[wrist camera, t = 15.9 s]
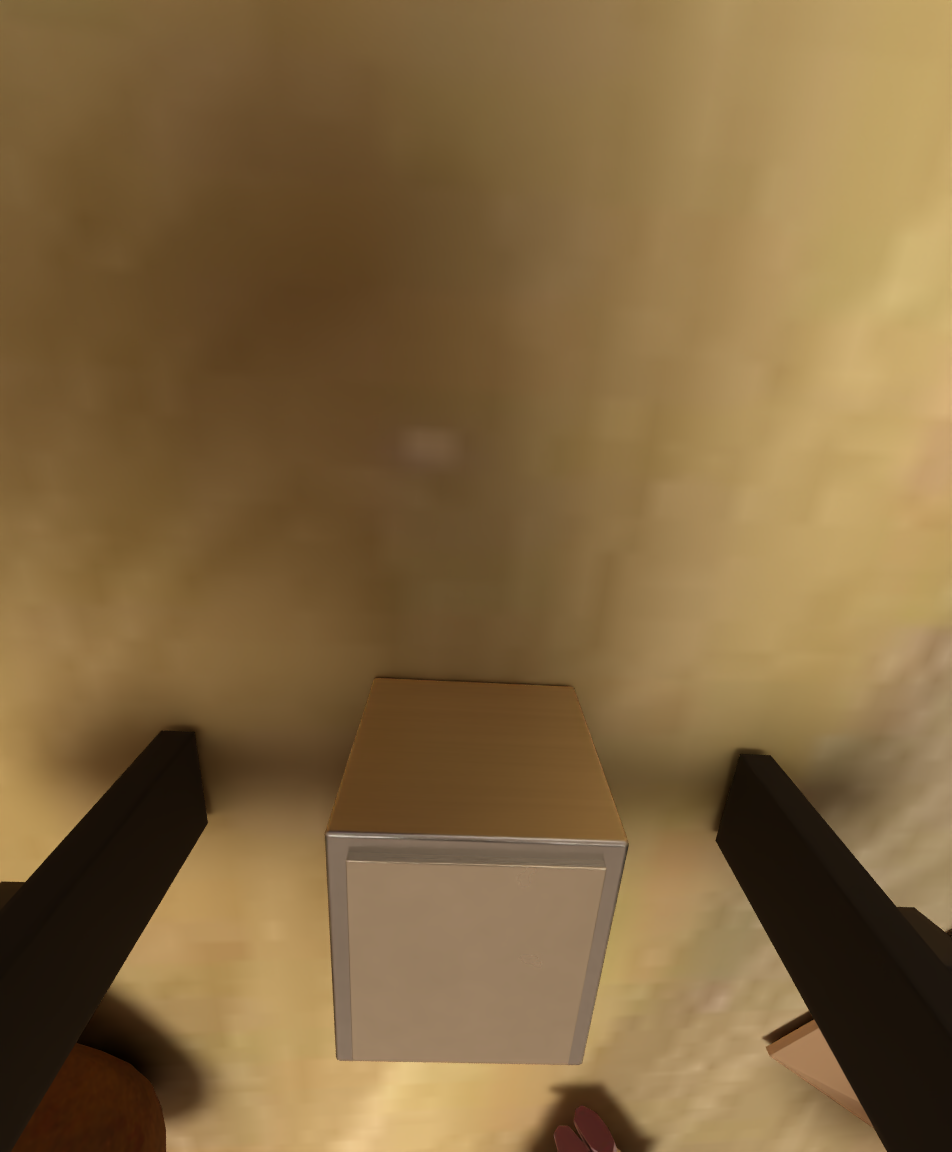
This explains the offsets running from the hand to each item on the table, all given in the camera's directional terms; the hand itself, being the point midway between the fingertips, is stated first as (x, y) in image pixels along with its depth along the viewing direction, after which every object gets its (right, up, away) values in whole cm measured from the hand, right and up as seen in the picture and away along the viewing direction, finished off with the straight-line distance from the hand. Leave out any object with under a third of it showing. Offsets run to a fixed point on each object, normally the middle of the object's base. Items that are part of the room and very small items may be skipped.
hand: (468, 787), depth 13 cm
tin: (0, 0, 0) cm, 0 cm away
